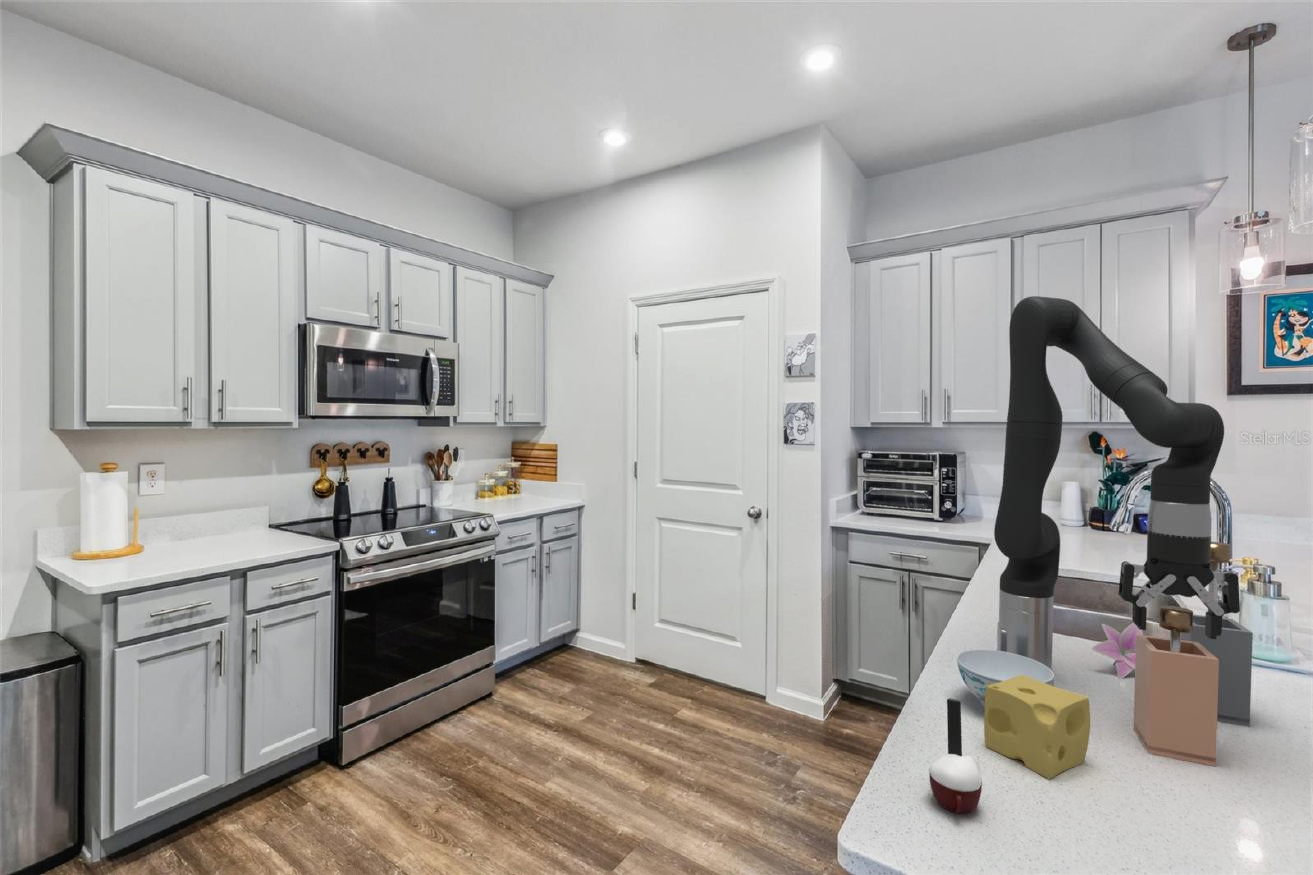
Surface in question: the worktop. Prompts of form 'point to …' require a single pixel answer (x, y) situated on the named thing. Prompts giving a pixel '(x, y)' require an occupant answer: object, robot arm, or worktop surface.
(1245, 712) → the grey square holder
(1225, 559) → the tall bronze-capped rod
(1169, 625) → the bronze knob plunger
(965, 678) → the chinaware
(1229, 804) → the worktop surface
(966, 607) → the worktop surface
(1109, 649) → the lily
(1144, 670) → the press terracotta
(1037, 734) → the cheese
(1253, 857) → the worktop surface
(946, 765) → the rounded three-tone fixture
